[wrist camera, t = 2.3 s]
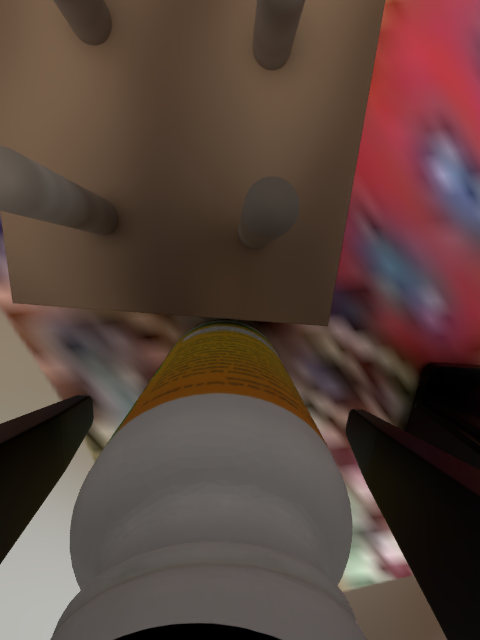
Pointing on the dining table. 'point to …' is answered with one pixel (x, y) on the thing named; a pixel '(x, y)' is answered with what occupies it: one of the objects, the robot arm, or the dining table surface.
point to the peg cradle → (182, 152)
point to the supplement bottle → (213, 508)
